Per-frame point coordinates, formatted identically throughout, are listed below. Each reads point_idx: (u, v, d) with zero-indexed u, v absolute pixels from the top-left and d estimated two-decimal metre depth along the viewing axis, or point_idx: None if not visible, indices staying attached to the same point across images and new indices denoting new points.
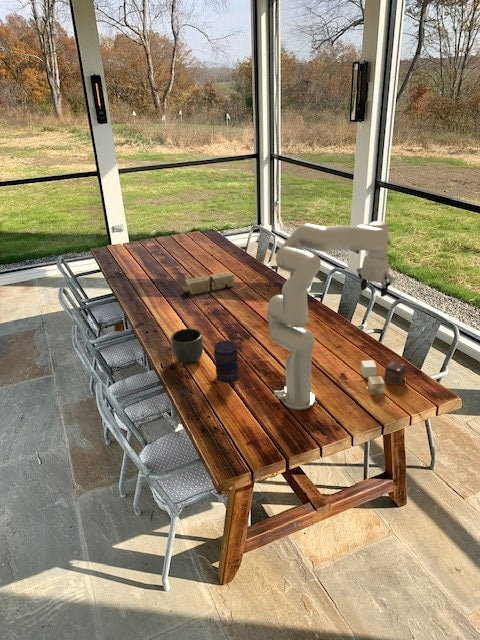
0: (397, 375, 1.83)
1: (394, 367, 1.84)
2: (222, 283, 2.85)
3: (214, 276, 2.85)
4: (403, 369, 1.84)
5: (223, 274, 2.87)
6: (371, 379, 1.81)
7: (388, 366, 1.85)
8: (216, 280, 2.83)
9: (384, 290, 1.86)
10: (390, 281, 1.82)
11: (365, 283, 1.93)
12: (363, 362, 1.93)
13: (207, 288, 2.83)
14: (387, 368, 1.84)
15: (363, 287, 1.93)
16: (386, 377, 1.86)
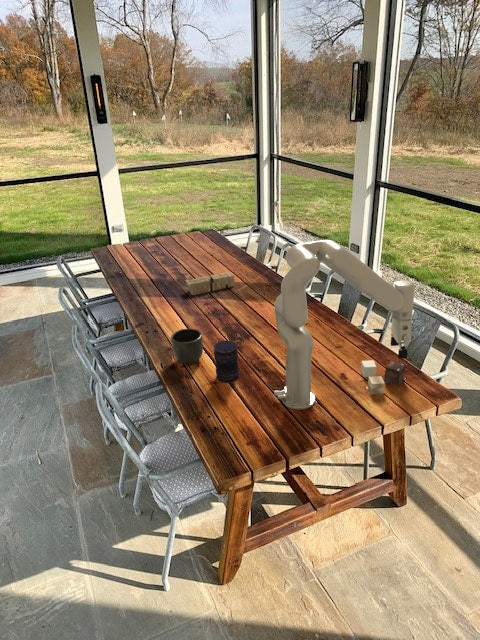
0: (397, 375, 1.83)
1: (394, 367, 1.84)
2: (222, 283, 2.85)
3: (214, 276, 2.84)
4: (403, 369, 1.84)
5: (223, 274, 2.87)
6: (371, 379, 1.81)
7: (388, 366, 1.85)
8: (216, 281, 2.82)
9: None
10: None
11: None
12: (363, 362, 1.93)
13: (207, 288, 2.82)
14: (387, 368, 1.84)
15: None
16: (386, 377, 1.86)
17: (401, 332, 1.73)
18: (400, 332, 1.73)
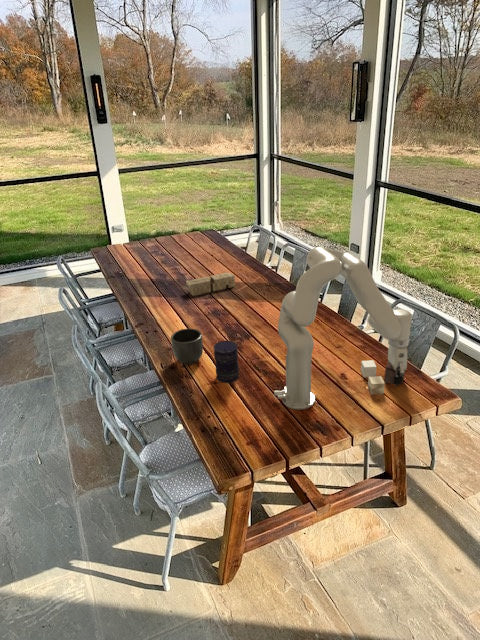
0: None
1: None
2: (222, 284, 2.84)
3: (215, 277, 2.84)
4: None
5: (224, 275, 2.86)
6: (371, 379, 1.81)
7: (388, 366, 1.85)
8: (216, 281, 2.81)
9: None
10: None
11: None
12: (363, 362, 1.93)
13: (208, 289, 2.81)
14: (387, 368, 1.84)
15: None
16: (386, 377, 1.86)
17: (397, 359, 1.78)
18: (396, 359, 1.78)
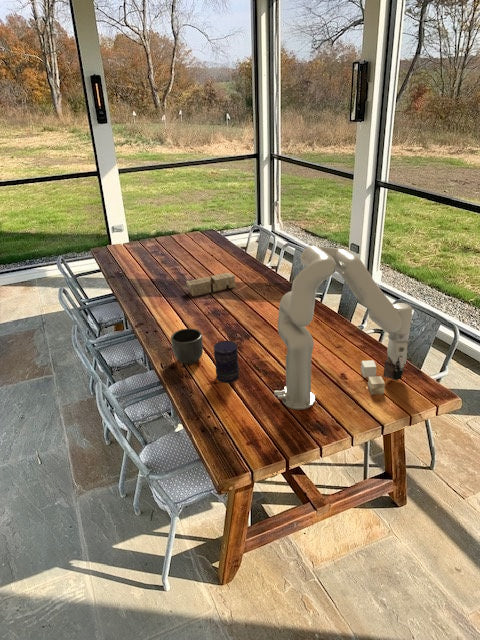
0: None
1: None
2: (223, 284, 2.83)
3: (215, 277, 2.83)
4: None
5: (224, 275, 2.85)
6: (371, 379, 1.81)
7: (387, 360, 1.83)
8: (217, 282, 2.81)
9: None
10: None
11: None
12: (363, 362, 1.93)
13: (208, 289, 2.81)
14: (386, 362, 1.83)
15: None
16: (385, 371, 1.85)
17: (397, 353, 1.77)
18: (396, 353, 1.77)
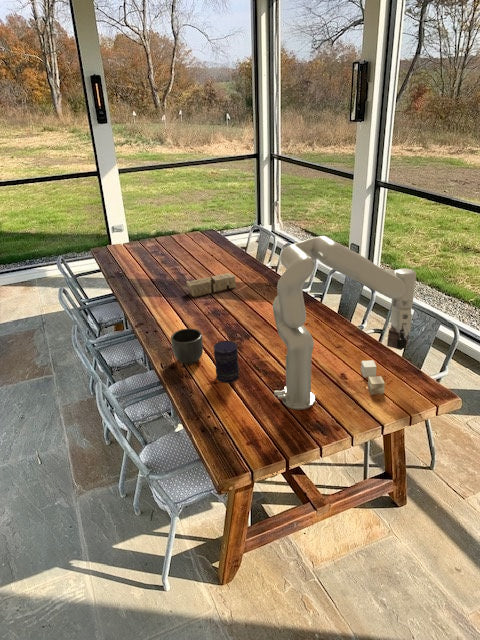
0: None
1: None
2: (223, 284, 2.83)
3: (215, 278, 2.83)
4: None
5: (224, 276, 2.85)
6: (371, 379, 1.81)
7: (391, 329, 1.78)
8: (217, 282, 2.80)
9: None
10: None
11: None
12: (363, 362, 1.93)
13: (208, 290, 2.80)
14: (390, 331, 1.77)
15: None
16: (389, 341, 1.79)
17: (401, 321, 1.71)
18: (400, 321, 1.71)
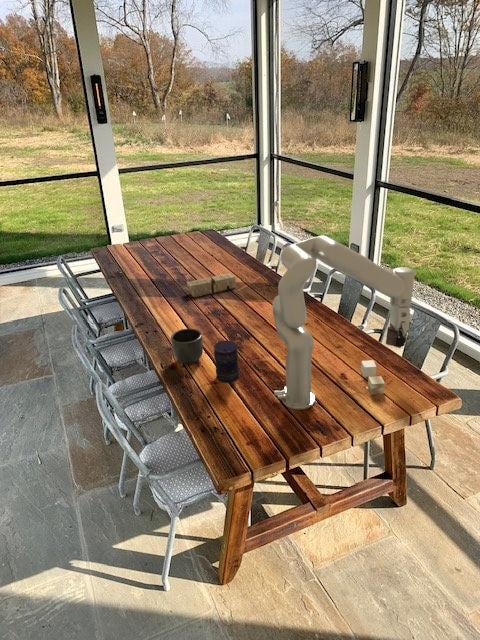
0: None
1: None
2: (223, 285, 2.82)
3: (216, 278, 2.82)
4: None
5: (225, 276, 2.84)
6: (371, 379, 1.81)
7: (390, 327, 1.79)
8: (217, 282, 2.80)
9: None
10: None
11: None
12: (363, 362, 1.93)
13: (209, 290, 2.79)
14: (389, 329, 1.79)
15: None
16: (388, 339, 1.81)
17: (400, 319, 1.73)
18: (399, 319, 1.73)
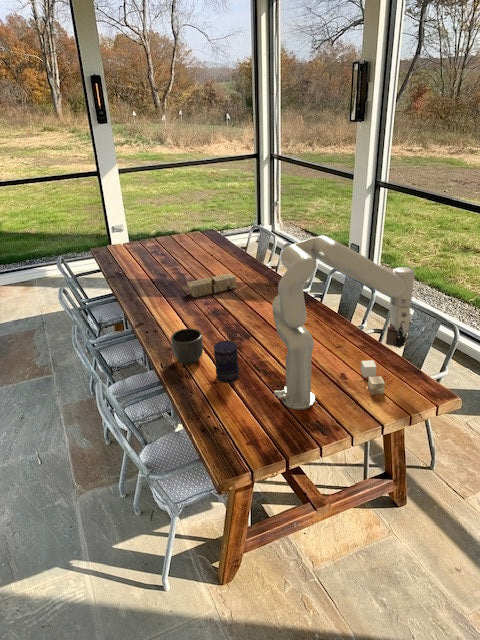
0: None
1: None
2: (224, 285, 2.82)
3: (216, 278, 2.82)
4: None
5: (225, 276, 2.84)
6: (371, 379, 1.81)
7: (390, 327, 1.79)
8: (218, 283, 2.79)
9: None
10: None
11: None
12: (363, 362, 1.93)
13: (209, 290, 2.79)
14: (389, 329, 1.79)
15: None
16: (388, 339, 1.81)
17: (400, 319, 1.73)
18: (399, 319, 1.73)
